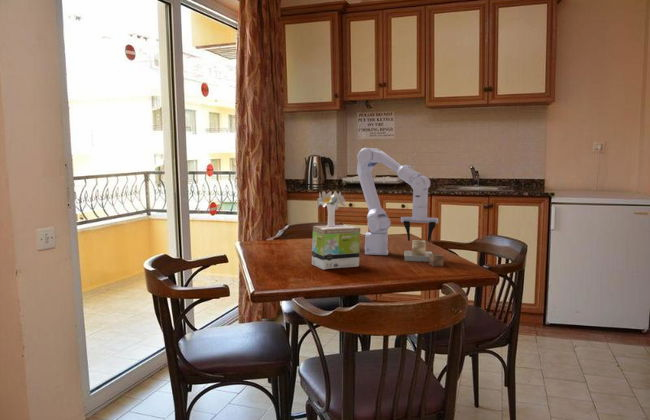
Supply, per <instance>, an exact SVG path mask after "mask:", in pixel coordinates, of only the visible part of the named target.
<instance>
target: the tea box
mask: <svg viewBox="0 0 650 420" xmlns="http://www.w3.org/2000/svg"><path fill="white" fill-rule="evenodd" d="M311 242H312V243H311V245H312V246H311V248H312V249H311V265H313V266H314V267H317V268H319V269H321V270H328V269H329V270H331V269H341V268H344V269H345V268H356V267H359V266H360V254H361V253H360V250H361V248H360V247H361V227H358V226H354V225H350V224H335V225H328V224H327V225H326V224H325V225H313V226H312V241H311Z"/></svg>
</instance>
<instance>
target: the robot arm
mask: <svg viewBox="0 0 650 420" xmlns="http://www.w3.org/2000/svg"><path fill="white" fill-rule="evenodd" d="M356 158H357V168H356V173H357V176H358V180H359V183H360V186H361V189H362V193H363V196H364V199H365V203H366V207H367V209H368V213H367V215H366V219H367V225H366V226H367V229H368V230H369V231H366V232H365V238H364V241H365V242H364V255H372V256H373V255H374V256H376V255H377V256H388V255H389V250H388V241H389V240H388V237H389V235H388V233H389V228H390V227H391V224H392V222H391V219H390V217H389V216H388V215H387V213H386V211H385V210H384V209H383V208H382V205H381V202H380V199H379V195H378V192H377V189H376V186H375V182H374V179H373V176H372V171H373V169H374V168H375V166H377V165H378V163H379V164H383V165H384V166H386V167H388V168H389V169H391V170H392V171H394V172H396V173H397V177H398V178H399V179H401V180H402V182H403V181H404V183H407V184H408V185H409V186H410V187H411V189H412V190H413V192H412V216H400V222H401V223H403V225H404V228H405V231H406V234H407V241H411V235H410V233H411V231H410V230H411V223H419V224H420V223H421V224H422V223H423V224H428V226H427V227H428V229H427V242H429V243H430V241H431V236H432V234H433V232H434V229H435V228H436V224H439V218H438V217H428V202H429V201H428V200H429V199H428V198H429V188H430V187H431V179H430V178H429V177H428V176H427V175H422V173H421V172H419V171H416V170H414V169H413V167H412V165H407V164H404V165H401V164H400V163H399V162H398V161H396V160H395V159H394V158H392V157H391V156H389V155H388V154H387V153H386V152H385V151H382V150H381V149H380V148H377V147H375V148H373V147H372V148H371V147H363V148H361V149H360V150H359V152H358V153H357V155H356Z"/></svg>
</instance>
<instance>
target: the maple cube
mask: <svg viewBox="0 0 650 420" xmlns="http://www.w3.org/2000/svg"><path fill="white" fill-rule="evenodd" d="M411 241H412V242H411V243H412V244H411V246H412V247H411V251H412V255H425V251H427V249H426V247H427V246H426V245H427V244H426V243H427V242H426V240H424V239H423V240H421V239H420V240H419V239H415V240H414V239H413V240H411Z"/></svg>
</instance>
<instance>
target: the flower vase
mask: <svg viewBox="0 0 650 420" xmlns="http://www.w3.org/2000/svg"><path fill="white" fill-rule="evenodd" d="M318 194H319V196H318V198H317V199H316V202H317V204H316V208H315V209H318V207H319V206H322V208H325V207H326V208H327V209H326V210H327V225H336V222H335V221H336V219H335V218H336V217H335V216H336V215H335V214H336V213H335V212H336V210H338V209H339V205H341V206H342V207H344V208H346V205H345V202H346V199H345V197H344V196H343V195H342V192H341V191H339V192H337V191H334V192H333V194H332V191H329V192H327V193H326V192H325V190H324V191H322V192H319V193H318Z"/></svg>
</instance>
